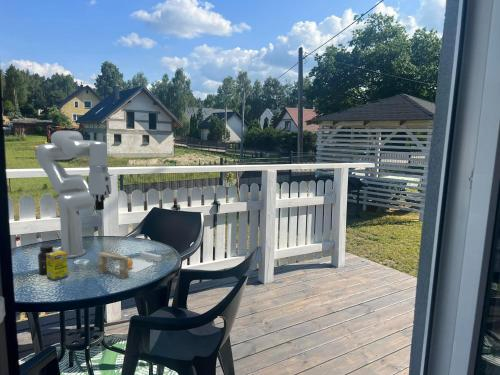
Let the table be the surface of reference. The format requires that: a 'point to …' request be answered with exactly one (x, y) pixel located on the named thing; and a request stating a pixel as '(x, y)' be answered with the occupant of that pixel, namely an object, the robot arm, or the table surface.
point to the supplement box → (56, 265)
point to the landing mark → (138, 265)
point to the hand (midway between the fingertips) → (99, 209)
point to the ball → (130, 263)
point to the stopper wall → (151, 256)
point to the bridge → (122, 259)
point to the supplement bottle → (43, 258)
